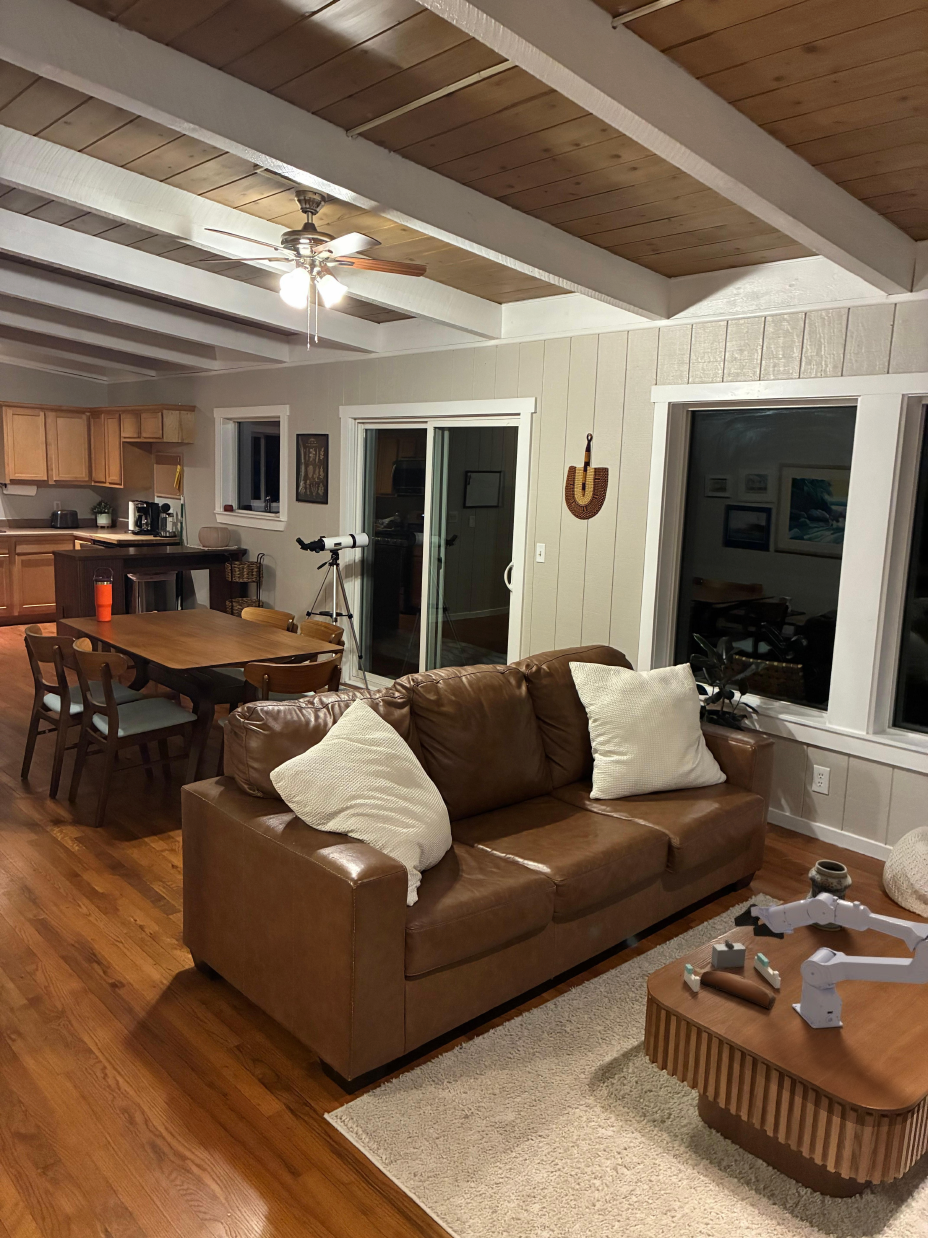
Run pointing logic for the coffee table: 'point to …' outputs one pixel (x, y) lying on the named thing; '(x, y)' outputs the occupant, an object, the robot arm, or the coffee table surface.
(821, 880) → the apothecary jar
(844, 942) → the coffee table surface
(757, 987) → the sunglasses case
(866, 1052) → the coffee table surface
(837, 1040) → the coffee table surface
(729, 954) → the grey block
